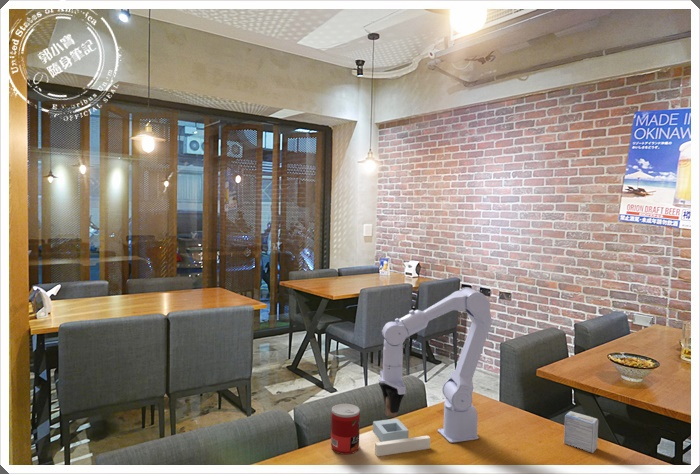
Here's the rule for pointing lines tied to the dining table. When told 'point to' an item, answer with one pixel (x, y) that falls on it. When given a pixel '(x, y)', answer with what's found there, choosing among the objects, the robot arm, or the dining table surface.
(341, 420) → the canned food
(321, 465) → the dining table surface
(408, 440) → the bar
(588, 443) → the medicine box
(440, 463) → the dining table surface
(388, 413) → the dowel
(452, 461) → the dining table surface
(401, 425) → the block
